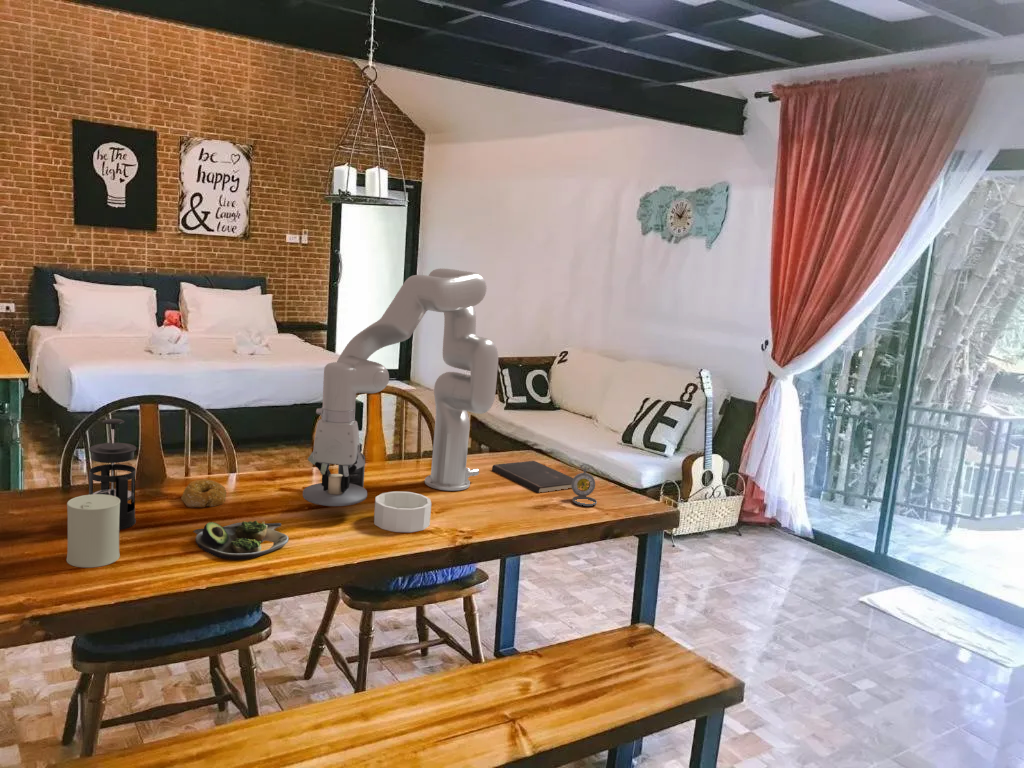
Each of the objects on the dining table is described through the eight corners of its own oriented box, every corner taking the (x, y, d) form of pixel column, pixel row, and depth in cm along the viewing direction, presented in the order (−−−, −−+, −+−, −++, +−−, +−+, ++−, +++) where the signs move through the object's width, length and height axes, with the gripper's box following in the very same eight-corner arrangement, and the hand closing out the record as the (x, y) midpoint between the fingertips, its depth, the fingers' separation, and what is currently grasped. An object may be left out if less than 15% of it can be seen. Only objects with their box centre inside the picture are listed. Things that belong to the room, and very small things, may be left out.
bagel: (171, 505, 190) (172, 485, 190) (198, 493, 201) (199, 474, 200) (208, 512, 188) (210, 493, 188) (234, 500, 199) (236, 481, 198)
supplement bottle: (366, 485, 219) (369, 442, 217) (359, 493, 212) (362, 448, 210) (341, 482, 219) (344, 439, 217) (333, 489, 213) (336, 445, 210)
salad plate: (257, 521, 186) (258, 501, 186) (309, 543, 176) (310, 523, 176) (180, 541, 171) (181, 520, 170) (233, 567, 161) (233, 545, 160)
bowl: (409, 510, 203) (411, 488, 202) (439, 526, 193) (441, 504, 192) (363, 517, 194) (365, 495, 193) (393, 535, 185) (394, 512, 184)
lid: (345, 481, 205) (346, 463, 204) (379, 499, 194) (380, 480, 193) (291, 491, 195) (291, 472, 194) (323, 510, 184) (323, 490, 183)
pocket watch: (584, 508, 217) (588, 472, 216) (562, 499, 223) (566, 464, 222) (605, 504, 223) (609, 469, 221) (583, 495, 229) (587, 461, 227)
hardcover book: (533, 467, 255) (534, 460, 254) (581, 489, 236) (582, 482, 236) (491, 472, 245) (492, 464, 245) (538, 495, 227) (539, 487, 227)
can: (57, 566, 153) (57, 505, 151) (78, 547, 162) (78, 490, 160) (109, 569, 154) (109, 508, 152) (127, 550, 163) (127, 493, 161)
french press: (80, 519, 176) (80, 416, 172) (125, 512, 183) (127, 412, 179) (99, 536, 168) (100, 428, 164) (145, 528, 175) (147, 424, 171)
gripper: (298, 415, 187) (296, 491, 191) (369, 422, 186) (365, 498, 190) (309, 408, 195) (306, 481, 198) (377, 415, 194) (373, 488, 197)
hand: (335, 489), depth 194 cm, fingers closed on lid, 3 cm apart
